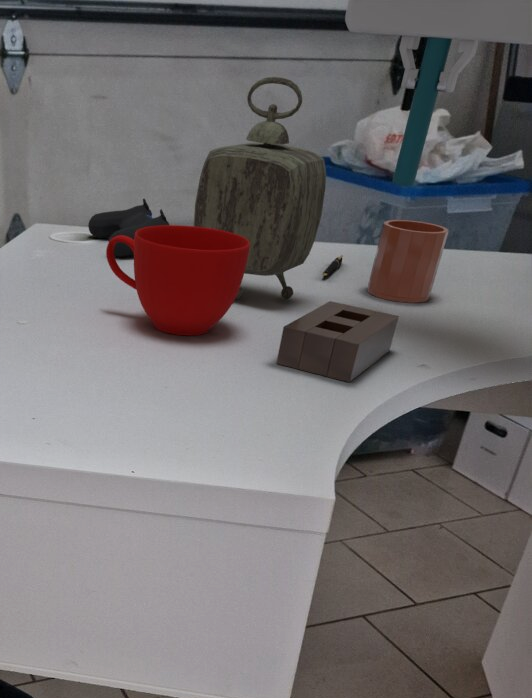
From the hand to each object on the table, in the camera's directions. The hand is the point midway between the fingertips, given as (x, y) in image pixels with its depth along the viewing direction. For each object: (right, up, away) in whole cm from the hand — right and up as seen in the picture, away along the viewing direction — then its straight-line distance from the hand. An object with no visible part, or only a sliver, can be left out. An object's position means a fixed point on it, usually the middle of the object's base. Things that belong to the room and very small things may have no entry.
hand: (426, 90), depth 89 cm
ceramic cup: (-27, -22, +10) cm, 36 cm away
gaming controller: (-30, +1, +43) cm, 53 cm away
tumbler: (+8, -11, +28) cm, 32 cm away
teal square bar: (-1, -7, +5) cm, 9 cm away
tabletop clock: (-16, -14, +23) cm, 31 cm away
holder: (-9, -28, +3) cm, 29 cm away
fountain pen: (+1, -5, +38) cm, 38 cm away
